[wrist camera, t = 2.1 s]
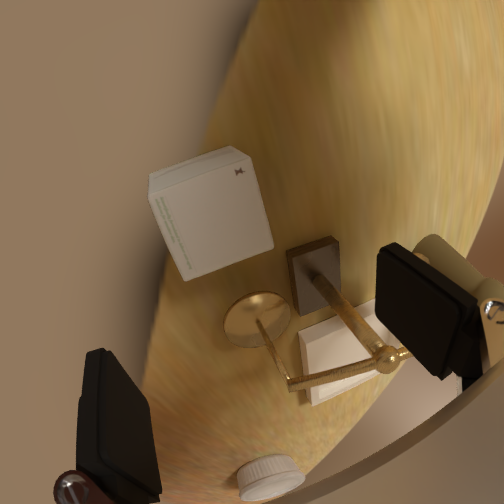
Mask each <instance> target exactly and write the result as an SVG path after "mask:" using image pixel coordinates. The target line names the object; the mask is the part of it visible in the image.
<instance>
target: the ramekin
mask: <svg viewBox="0 0 504 504" xmlns="http://www.w3.org/2000/svg"><path fill="white" fill-rule="evenodd" d="M304 480H305V475H304V473H303V472H301V471H300V469H299V468H298V466H297V465H296V464H295V462H294V461H293V459H292V458H291V457H289V456H287V455H284V454H274V455H268V456H264V457H261V458H258V459H255V460H253V461H251V462H249V463H247V464H245V465H244V466H242V467H241V468H240V469H239V471H238V473H237V481H238V487H239V497H240V499H241V500H243V501H258V500H263V499H268V498H271V497H275V496H278V495H281V494H283V493H286V492H288V491H290V490H292V489H294V488H296V487H297V486H299V485H300V484H301V483H303V482H304Z"/></svg>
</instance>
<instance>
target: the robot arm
mask: <svg viewBox="0 0 504 504" xmlns="http://www.w3.org/2000/svg"><path fill="white" fill-rule="evenodd" d="M477 303H478V299H476V298H475V297H474V296H473V295H471V294H470V293H468V292H467V291H466V290H464V289H463V288H462V287H460V286H459V285H458V284H456V283H455V282H453V281H452V280H451V279H449V278H448V277H446V276H445V275H444V274H442V273H441V272H439V271H438V270H437V269H435V268H434V267H432V266H431V265H429V264H428V263H426V262H425V261H423V260H422V259H420V258H419V257H418V256H416V255H415V254H413V253H412V252H410V251H409V250H407V249H405V248H404V247H402V246H401V245H399V244H398V243H396V242H394V243H391V244H389V245H386V246H384V247H382V248H381V249H380V251H379V253H378V255H377V269H376V294H375V315H376V317H377V319H378V320H379V321H380V322H381V323H382V324H383V325H384V326H385V327H386V328H387V329H388V330H389V331H390V332H391V333H392V334H393V335H394V336H395V337H396V338H397V339H398V340H399V341H400V342H401V343H402V344H403V345H404V346H405V347H406V348H407V349H408V350H409V352H410V353H411V354H412V355H413V356H414V357H415V358H416V359H417V360H418V361H419V362H420V363H421V364H422V365H423V366H424V367H425V368H426V369H427V370H428V371H429V372H430V373H431V374H432V375H433V376H437V377H438V378H439V379H440V380H441V381H442V380H443V379H444V378H446V377H447V376H448V375H450V374H451V373H452V371H453V372H454V373H455V374H456V377H457V397H456V398H455V399H454V400H453V401H451V402H450V403H449V404H447V405H446V406H445V407H444V408H442V409H441V410H440V411H438V412H437V413H436V414H434V415H433V416H432V417H430V418H429V419H427V420H426V421H424V422H423V423H422V424H420V425H419V426H417V427H416V428H414V429H413V430H411V431H410V432H408V433H407V434H405V435H404V436H402V437H401V438H399V439H397V440H396V441H394V442H393V443H391V444H389V445H388V446H386V447H384V448H383V449H381V450H379V451H378V452H376V453H374V454H372V455H371V456H369V457H367V458H365V459H363V460H362V461H360V462H358V463H356V464H354V465H352V466H350V467H349V468H346V469H344V470H342V471H341V472H338V473H336V474H334V475H332V476H330V477H328V478H325V479H323V480H321V481H319V482H317V483H314V484H312V485H310V486H307V487H305V488H303V489H300V490H297V491H295V492H292V493H290V494H287V495H285V496H282V497H279V498H276V499H274V500H271V501H268V502H265V503H262V504H504V300H502V299H500V298H489V299H486V300H485V301H483V302H482V304H481V306H480V307H479V306H478V305H477ZM76 439H77V440H76V470H69V471H66V472H64V473H63V474H61V475H60V476H59V477H58V479H57V480H56V482H55V485H54V490H53V495H54V500H55V502H56V504H150V503H156V502H160V498H159V494H162V485H161V480H160V475H159V469H158V464H157V458H156V452H155V445H154V439H153V432H152V424H151V417H150V408H149V404H148V402H147V400H146V398H145V397H144V395H143V394H142V393H141V391H140V390H139V389H138V388H137V386H136V385H135V384H134V382H133V381H132V380H131V378H130V377H129V375H128V374H127V373H126V371H125V370H124V369H123V367H122V366H121V364H120V363H119V362H118V360H117V359H116V357H115V356H114V354H113V353H112V352H111V351H106V350H105V349H104V348H100V349H96V350H93V351H89V352H87V354H86V360H85V367H84V376H83V385H82V395H81V397H80V399H79V404H78V418H77V438H76Z"/></svg>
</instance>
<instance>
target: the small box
mask: <svg viewBox="0 0 504 504" xmlns="http://www.w3.org/2000/svg"><path fill="white" fill-rule="evenodd" d="M147 199H148V202H149V205H150V207H151V210H152V212H153V215H154V217H155V220H156V222H157V224H158V227H159V229H160V231H161V234H162V236H163V238H164V240H165V243H166V245H167V247H168V249H169V251H170V254H171V256H172V258H173V260H174V262H175V264H176V266H177V268H178V270H179V272H180V274H181V276H182V278H183V280H184V281H189V280H191V279H194V278H197V277H200V276H203V275H205V274H208V273H210V272H213V271H216V270H218V269H221V268H223V267H226V266H228V265H231V264H233V263H236V262H239V261H241V260H244V259H247V258H250V257H253V256H255V255H258V254H261V253H264V252H266V251H269V250H272V249H274V242H273V238H272V234H271V230H270V226H269V222H268V219H267V215H266V212H265V208H264V204H263V200H262V197H261V193H260V189H259V185H258V181H257V178H256V174H255V171H254V167H253V164H252V160H251V158H250V157H249V156H248V155H246V154H244V153H243V152H241V151H239V150H238V149H236V148H234V147H233V146H231V145H229V146H226V147H223V148H220V149H217V150H214V151H211V152H208V153H205V154H202V155H199V156H196V157H193V158H190V159H188V160H185V161H182V162H180V163H177V164H174V165H171V166H169V167H166V168H163V169H160V170H158V171H155V172H152V173H150V174H149V181H148V194H147Z"/></svg>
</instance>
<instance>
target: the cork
mask: <svg viewBox="0 0 504 504" xmlns="http://www.w3.org/2000/svg"><path fill="white" fill-rule="evenodd" d="M412 253H420V254H422V255H424V256H425V257H427V258H428V259H429V261H430V265H431V266H432V267H434V268H435V269H437V270H438V271H439V272H441V273H442V274H444V275H445V276H446V277H448V278H449V279H451V280H452V281H453V282H455V283H456V284H458V285H459V286H460V287H462V288H463V289H464V290H466V291H467V292H468V293H470V294H471V295H473V296H474V297H475V298H476V299H478V303H477V305H478V306H479V307H480V306H481V304H482V302H483V301H485V300H486V299H489V298H500V299H502V300H504V286H503V284H502V283H501V282H499V281H498V280H496V279H493V278H484V277H483V276H482V275H481V274H480V273H479V272H478V271H477V270H476V269H475V268H474V267H473V266H472V265H471V264H470V263H469V262H468V261H467V260H466V259H465V258H464V257H463V256H461V255H460V254H459V253H458V252H457V251H456V250H455V249H454V248H453V247H451V246H450V245H449V244H448V243H447V242H446V241H445V240H444V239H442V238H441V237H440V236H438V235H436V234H431V235H429V236H427V237H425V238H423V239H422V240H421V241H420V242H419V243H418V244H417V246H416V247H415V248H414V250H413V252H412Z"/></svg>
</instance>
